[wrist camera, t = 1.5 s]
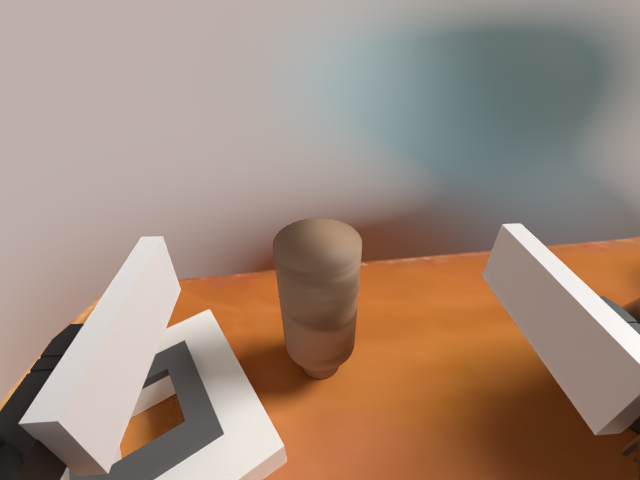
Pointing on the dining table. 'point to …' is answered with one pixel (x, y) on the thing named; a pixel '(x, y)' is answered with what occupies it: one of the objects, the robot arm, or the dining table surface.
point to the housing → (201, 414)
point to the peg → (318, 292)
